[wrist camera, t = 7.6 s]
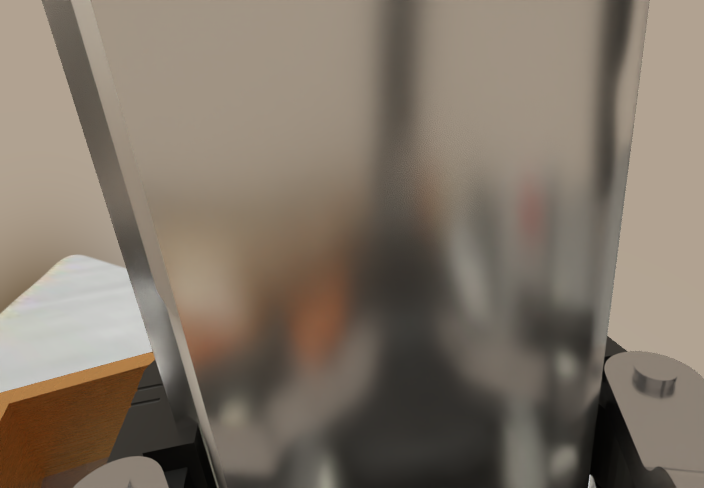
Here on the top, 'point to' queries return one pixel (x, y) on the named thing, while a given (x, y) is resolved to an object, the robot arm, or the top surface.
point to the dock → (65, 424)
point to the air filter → (368, 225)
